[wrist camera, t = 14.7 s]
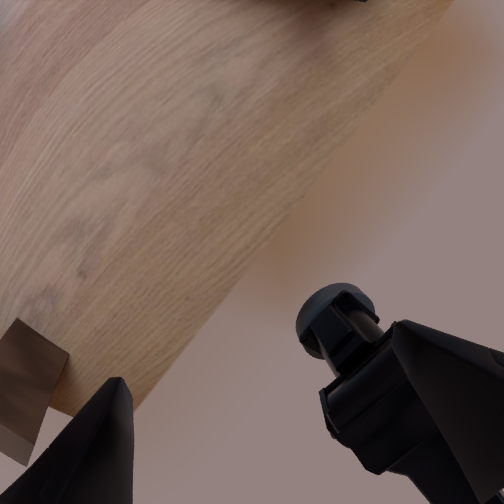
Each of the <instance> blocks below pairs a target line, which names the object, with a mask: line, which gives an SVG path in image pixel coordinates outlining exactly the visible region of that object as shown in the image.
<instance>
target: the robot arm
mask: <svg viewBox="0 0 504 504" xmlns="http://www.w3.org/2000/svg"><path fill="white" fill-rule="evenodd" d="M345 294H346V295H345ZM344 295H345V296H344ZM343 296H344V297H343ZM374 320H375V321H374ZM379 321H380V319H379V317H378V316H377V315H376V314H374V313H373V312H372V311H371V310H370V309H369V308H367V307H366V306H365V305H364V304H363V303H361V302H360V301H359V300H358V299H357V298H356V297H354V296H353V295H352V294H351V293H350V292H348V291H347V290H342V291H341V292H340V293H339V294H338V295H337V296H336V297H335V298H334V300H333V301H332V302H331V303H330V304H329V305H328V306H327V307H326V308H325V309H324V311H323V312H322V313H321V314H320V315H319V316H318V317H317V318H316V319H315V320H314V321H313V322H312V323H311V324H310V326H309V327H308V328H307V329H306V330H305V331H304V332H303V333H302V334H301V335H300V336H299V341H300V343H301V344H303V345H305V346H306V347H308V348H310V349H312V350H313V351H315V352H317V353H319V354H321V355H322V356H323V357H324V358H325V360H326V362H327V363H328V365H329V367H330V368H331V370H332V371H333V373H334V375H335V377H336V379H335V380H334V381H333V382H332V383H330V384H329V385H328V386H327V387H326V388H323V389H322V390H320V391H319V395H320V401H321V405H322V409H323V414H324V418H325V423H326V427H327V429H328V431H329V432H330V435H331V436H332V438H333V439H337V441H338V442H340V443H341V444H342V445H344V446H345V447H347V448H350V449H351V450H352V451H353V452H354V453H355V455H356V456H357V458H358V459H359V461H360V462H361V464H362V465H363V467H364V468H365V469H366V470H368V471H369V472H372V473H374V474H376V475H380V474H382V473H383V472H385V471H389V472H393V473H396V474H401V475H405V476H407V477H408V478H409V479H410V480H411V481H412V482H413V483H414V484H415V485H416V487H417V488H418V489H419V490H420V492H421V493H422V494H423V495H424V496H425V498H426V499H427V500H428V501H429V502H430V504H504V492H503V491H502V489H503V488H504V353H503V352H500V351H497V350H494V349H491V348H488V347H485V346H482V345H479V344H476V343H473V342H470V341H467V340H464V339H461V338H459V337H456V336H453V335H450V334H447V333H444V332H441V331H438V330H435V329H432V328H429V327H427V326H424V325H421V324H418V323H415V322H412V321H409V320H402V321H399V322H396V321H394V323H392V325H391V327H390V328H389V329H388V330H387V331H386V332H385V333H384V332H383V331H382V330H381V328H379V326H378V325H377V324H378V323H379ZM304 338H305V339H304ZM133 459H134V425H133V399H132V395H131V393H130V391H129V389H128V387H127V385H126V383H125V381H124V379H123V378H122V377H111V378H109V379H108V380H107V381H106V382H105V383H104V384H103V385H102V386H101V387H100V389H99V390H98V391H97V392H96V393H95V394H94V395H93V396H92V397H91V399H90V400H89V401H88V402H87V403H86V404H85V405H84V406H83V408H82V409H81V410H80V411H79V412H78V413H77V414H76V415H75V417H74V418H73V419H72V420H71V421H70V422H69V423H68V425H67V426H66V427H65V428H64V429H63V430H62V431H61V433H60V434H59V435H58V436H57V437H56V438H55V439H54V441H53V442H52V443H51V444H50V445H49V448H47V449H46V450H45V451H44V452H43V453H42V454H41V456H40V457H39V458H38V459H37V460H36V461H35V462H34V463H33V464H32V466H31V467H29V468H28V469H27V470H26V471H25V472H24V474H22V475H21V476H20V477H19V478H18V479H17V480H16V481H15V482H14V483H13V484H12V485H11V486H9V487H8V488H7V489H6V490H5V491H4V492H3V493H2V494H1V495H0V504H133V493H132V492H133Z"/></svg>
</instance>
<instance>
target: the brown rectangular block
mask: <svg viewBox="0 0 504 504" xmlns="http://www.w3.org/2000/svg"><path fill="white" fill-rule="evenodd" d="M68 356H69V354H68V353H67V352H65V351H64V350H62V349H61V348H59V347H58V346H56V345H55V344H53V343H52V342H50V341H49V340H47V339H46V338H44V337H43V336H41V335H40V334H39V333H37V332H36V331H34V330H33V329H32V328H30V327H29V326H28V325H26V324H25V323H24V322H22V321H21V320H20V319H18V318H16V320H15V321H14V322H13V324H12V325H11V326H10V327H9V329H8V330H7V331H6V333H5V334H4V336H3V337H2V338H1V340H0V451H1V452H2V453H4V454H5V455H7V456H8V457H10V458H12V459H14V460H15V461H17V462H19V463H20V464H22V465H24V466H26V467H27V465H28V462H29V459H30V456H31V454H32V451H33V449H34V446H35V443H36V440H37V437H38V433H39V430H40V427H41V424H42V422H43V418H44V416H45V413H46V410H47V408H48V405H49V402H50V400H51V397H52V394H53V392H54V389H55V387H56V384H57V382H58V379H59V377H60V375H61V372H62V370H63V368H64V365H65V363H66V361H67V358H68Z"/></svg>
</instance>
